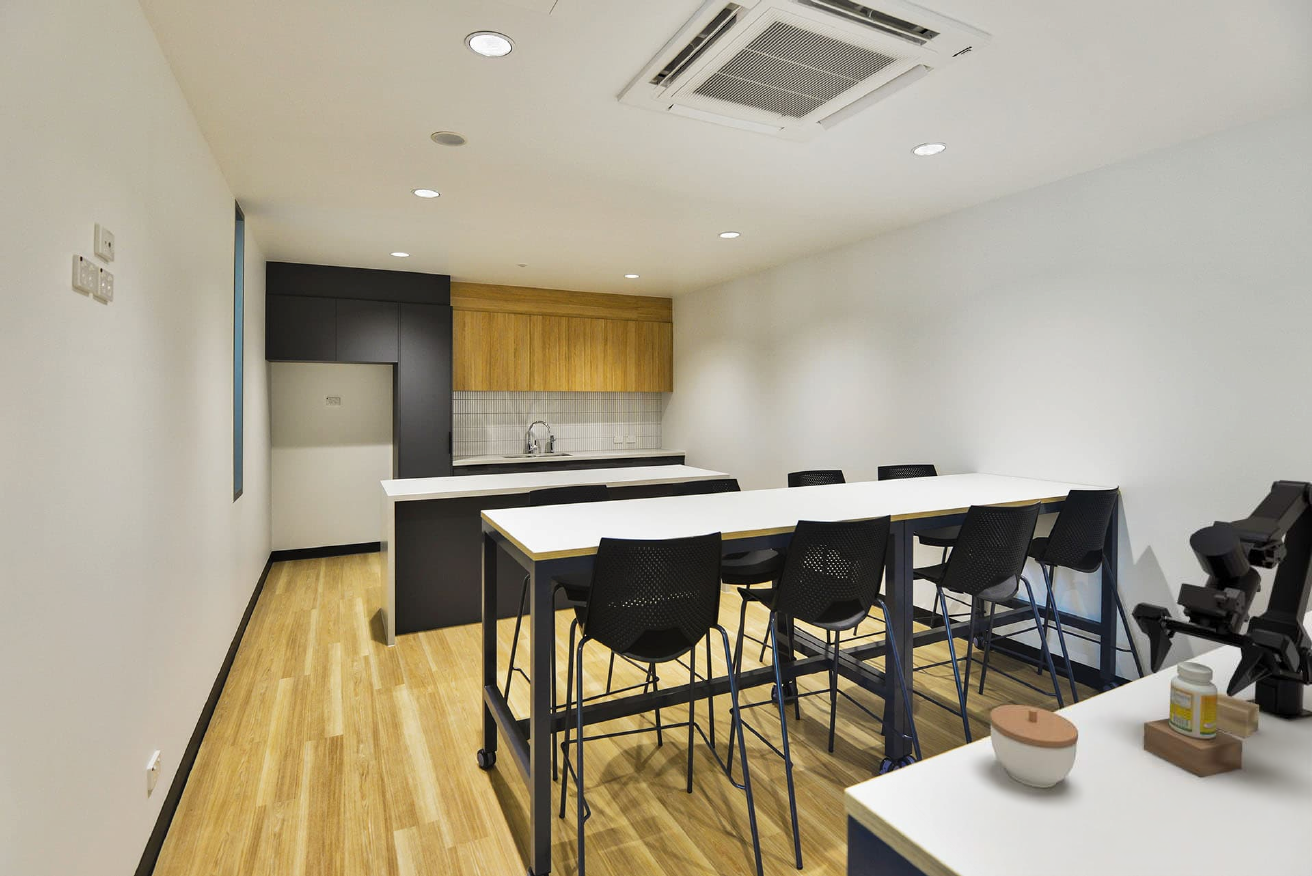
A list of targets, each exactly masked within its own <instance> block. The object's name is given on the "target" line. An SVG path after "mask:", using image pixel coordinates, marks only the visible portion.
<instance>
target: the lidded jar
mask: <svg viewBox="0 0 1312 876" xmlns="http://www.w3.org/2000/svg"><path fill="white" fill-rule="evenodd" d="M989 722H990V740H991V746H992V749H993V753H994V755H995V757H996V758H997V761H999V763H1000V764H1001V766H1002V767H1003V768H1004V769H1005V770H1006V772H1007V774H1008V775H1009V776H1010V777H1011V778H1012V779H1014V780H1015V781H1017V782H1019V783H1020V784H1023V785H1025V786H1029V787H1032V788H1034V787H1035V788H1043V789H1047V788H1052V787H1055V786H1056V785H1057V784H1058V783H1059V782H1061V781H1062V780H1063V779H1066V778H1067V776H1068V775H1069V774H1070V773H1071V771H1072V769H1073V767H1074V764H1075V761H1076V757H1077V756H1076V755H1077V747H1078V739H1079V730H1078V729H1077V726H1075V724H1074V723H1073V722H1071V721H1070V720H1069V719H1067V718H1066V717H1064V716H1061V715H1060V714H1058V713H1055V712H1053V711H1050V710H1046V709H1043V708H1039V707H1035V706H1030V705H1024V704H1023V705H1021V704H1006V705H1004V704H1003V705H1000V706H996V707H994V708H993V709H992V710H991V711H990V713H989Z"/></svg>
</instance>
